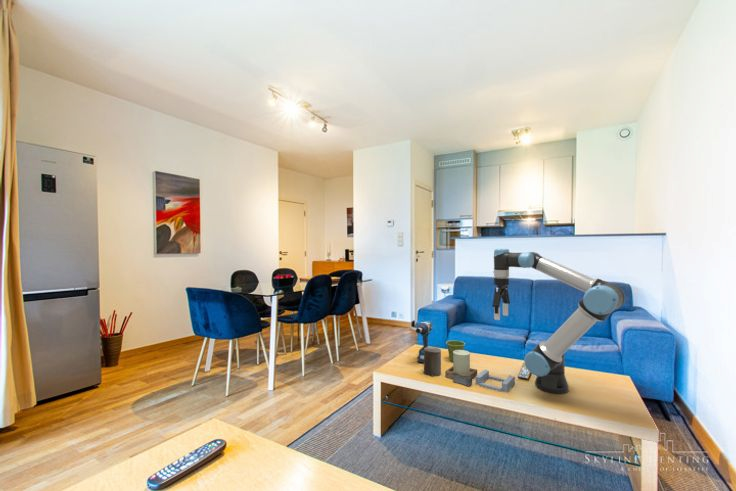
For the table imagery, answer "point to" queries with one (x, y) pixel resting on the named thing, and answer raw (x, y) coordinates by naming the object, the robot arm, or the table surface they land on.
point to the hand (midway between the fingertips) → (501, 317)
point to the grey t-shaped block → (462, 380)
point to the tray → (450, 374)
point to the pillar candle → (432, 361)
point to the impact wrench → (424, 337)
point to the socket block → (485, 375)
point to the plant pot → (454, 347)
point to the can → (461, 362)
